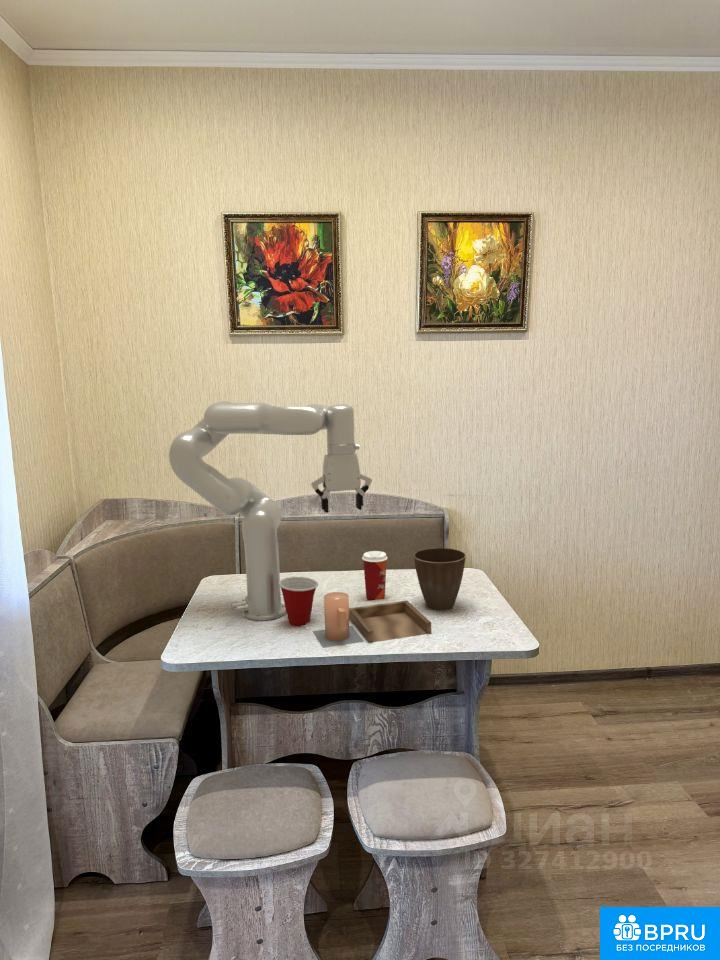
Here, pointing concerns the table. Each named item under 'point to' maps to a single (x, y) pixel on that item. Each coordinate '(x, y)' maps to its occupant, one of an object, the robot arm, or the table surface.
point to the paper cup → (375, 574)
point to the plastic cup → (298, 598)
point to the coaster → (325, 642)
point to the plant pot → (439, 576)
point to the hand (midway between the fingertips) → (342, 510)
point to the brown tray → (389, 621)
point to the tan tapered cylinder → (336, 616)
